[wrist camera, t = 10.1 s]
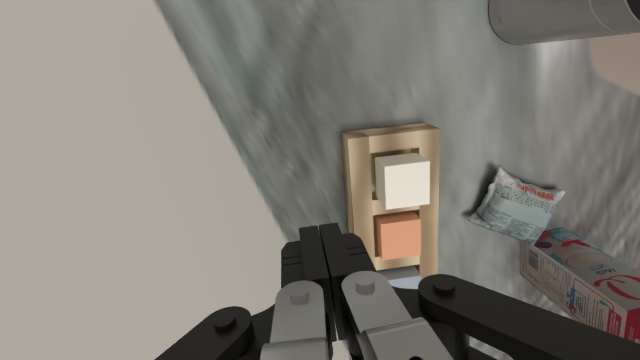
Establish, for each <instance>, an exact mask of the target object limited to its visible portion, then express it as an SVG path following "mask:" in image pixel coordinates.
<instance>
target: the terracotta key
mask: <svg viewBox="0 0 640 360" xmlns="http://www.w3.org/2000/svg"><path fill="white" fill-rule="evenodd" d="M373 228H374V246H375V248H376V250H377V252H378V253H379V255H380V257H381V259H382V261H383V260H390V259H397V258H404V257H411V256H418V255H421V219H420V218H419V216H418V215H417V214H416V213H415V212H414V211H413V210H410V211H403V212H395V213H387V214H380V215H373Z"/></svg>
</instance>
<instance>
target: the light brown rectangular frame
mask: <svg viewBox="0 0 640 360" xmlns="http://www.w3.org/2000/svg"><path fill="white" fill-rule="evenodd" d="M341 139H342V152H343V165H344V178H345V192H346V205H347V218H348V232H349V233H354V234H355V235H357V236H358V237H360V238H361V239H362V241H363V243H364V246H365V248H366V250H367V253H368V254H369V256H370V258H371V260H372V262H373V265H374V267H375V269H376V271H377V270H383V269H390V268H397V267H404V266H411V265H414V266H415V267H416V269H417V270H418V272H419V273H420V275H421V280H422V279H423V278H425V277H427V276H430V275H434V274H437V273H438V210H439V148H440V128H437V127H435V126H432V125H429V124H427V123H416V124H407V125H399V126H390V127H381V128H372V129H363V130H355V131H346V132H341ZM409 153H418V154H419V155H421V156H422V157H424V158H426V159H427V160H429V161H430V204H427V205H419V206H412V207H404V208H396V209H389V210H386V209H385V208H384V206H383V205H382V204H381V202H380V201H379V200H378V198H377V195H376V173H375V157H384V156H392V155H400V154H409ZM410 210H413V211H414V212H415V213H416V214H417V215H418V216H419V218H420V219H421V255H418V256H411V257H404V258H397V259H390V260H383V261H382V259H381V257H380V255H379V253H378V252H377V250H376V248H375V246H374V228H373V215H380V214H387V213H395V212H403V211H410Z"/></svg>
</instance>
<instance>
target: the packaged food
mask: <svg viewBox="0 0 640 360" xmlns="http://www.w3.org/2000/svg"><path fill="white" fill-rule="evenodd" d="M488 190H489V191H488V193H487V195H485V196H484V199H483V201H482V204H481V206H480V207H478V209H477V211H476V213H474V214H473V216H472V215H471V217H469V219H468V220H469V221H470V222H472V223H474V224H476V225H479V226H481V227H484V228H487V229H490V230H493V231H496V232H499V233H502V234H506V235H508V236H510V237H514V238H516V239H520V240H522V241H524V242H525V243H527V244H528V245H534V244H535V243H536V241H537V240H538V238H539V237H540V235H541V234H542V233H543V231H544V230H545V229H546V226H547V224H548V222H549V221H550V219H551V216H552V214H553V212H554V210H555V207H556V205H557V202H558V201H559V200H560V199H561V198H562V196H563V195H564V194H565V191H564V190H562V189H555V190H554V189H553V190H545V189H543V188H540V187H538V186H535V185H532V184H527V183H522V182H521V181H520V180H519V179H518V178H515V177H513V176H511V175H509V174H507V173H506V172H505V171H504V170H503V169H502V168H501V167H500V166H499V165H498V167H497V173H496V175H495V176H494V179H493V182H492V184H490V185H489V187H488Z"/></svg>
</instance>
